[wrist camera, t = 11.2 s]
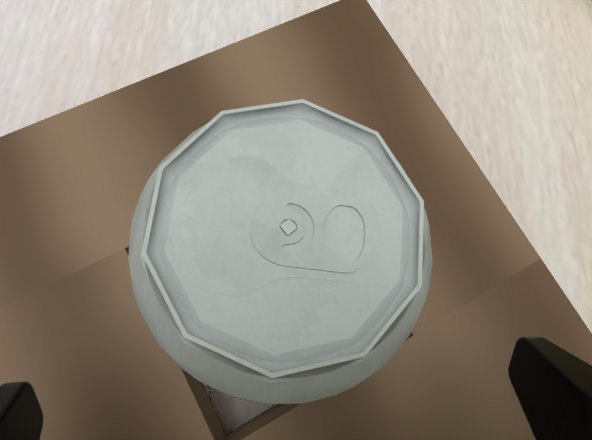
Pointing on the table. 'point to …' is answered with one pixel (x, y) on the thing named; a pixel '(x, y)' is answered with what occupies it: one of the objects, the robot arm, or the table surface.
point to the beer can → (280, 253)
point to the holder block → (116, 237)
